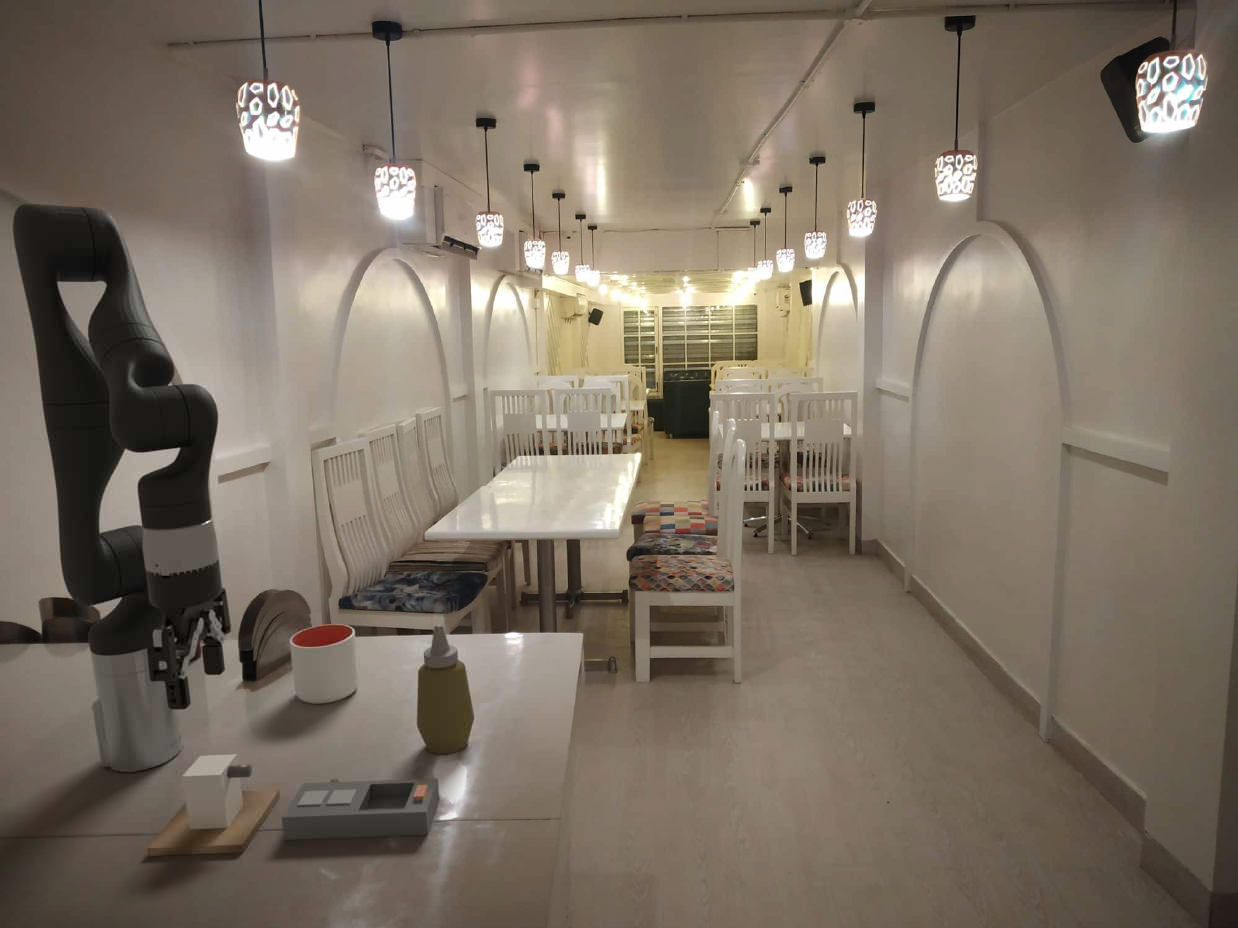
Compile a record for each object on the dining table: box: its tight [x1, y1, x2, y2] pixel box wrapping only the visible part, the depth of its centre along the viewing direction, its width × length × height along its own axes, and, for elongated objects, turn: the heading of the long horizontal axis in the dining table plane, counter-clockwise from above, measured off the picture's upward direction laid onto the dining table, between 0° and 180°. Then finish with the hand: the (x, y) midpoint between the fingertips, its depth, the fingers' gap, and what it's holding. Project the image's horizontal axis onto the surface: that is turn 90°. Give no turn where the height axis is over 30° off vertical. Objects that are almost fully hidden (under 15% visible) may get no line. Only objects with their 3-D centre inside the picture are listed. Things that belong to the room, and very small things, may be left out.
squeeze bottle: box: [416, 624, 475, 755], centre depth 116 cm, size 8×8×18 cm
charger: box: [181, 753, 253, 829], centre depth 100 cm, size 7×4×7 cm, turn 92°
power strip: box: [281, 777, 440, 841], centre depth 102 cm, size 17×11×4 cm, turn 91°
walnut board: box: [146, 789, 281, 857], centre depth 100 cm, size 11×11×1 cm
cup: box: [289, 623, 360, 705], centre depth 134 cm, size 10×10×10 cm
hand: (198, 690), depth 97 cm, fingers open, 8 cm apart
